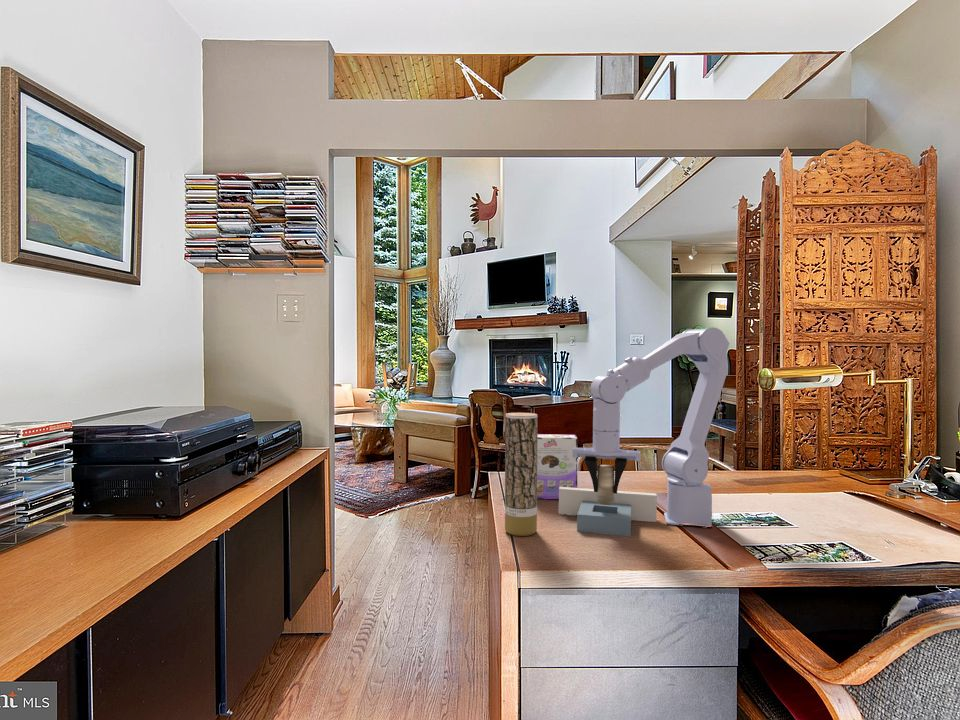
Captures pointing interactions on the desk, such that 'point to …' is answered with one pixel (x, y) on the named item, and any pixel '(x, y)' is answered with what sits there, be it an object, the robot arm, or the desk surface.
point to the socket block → (604, 518)
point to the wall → (640, 502)
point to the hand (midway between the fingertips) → (605, 491)
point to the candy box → (555, 464)
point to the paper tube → (521, 473)
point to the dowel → (605, 484)
